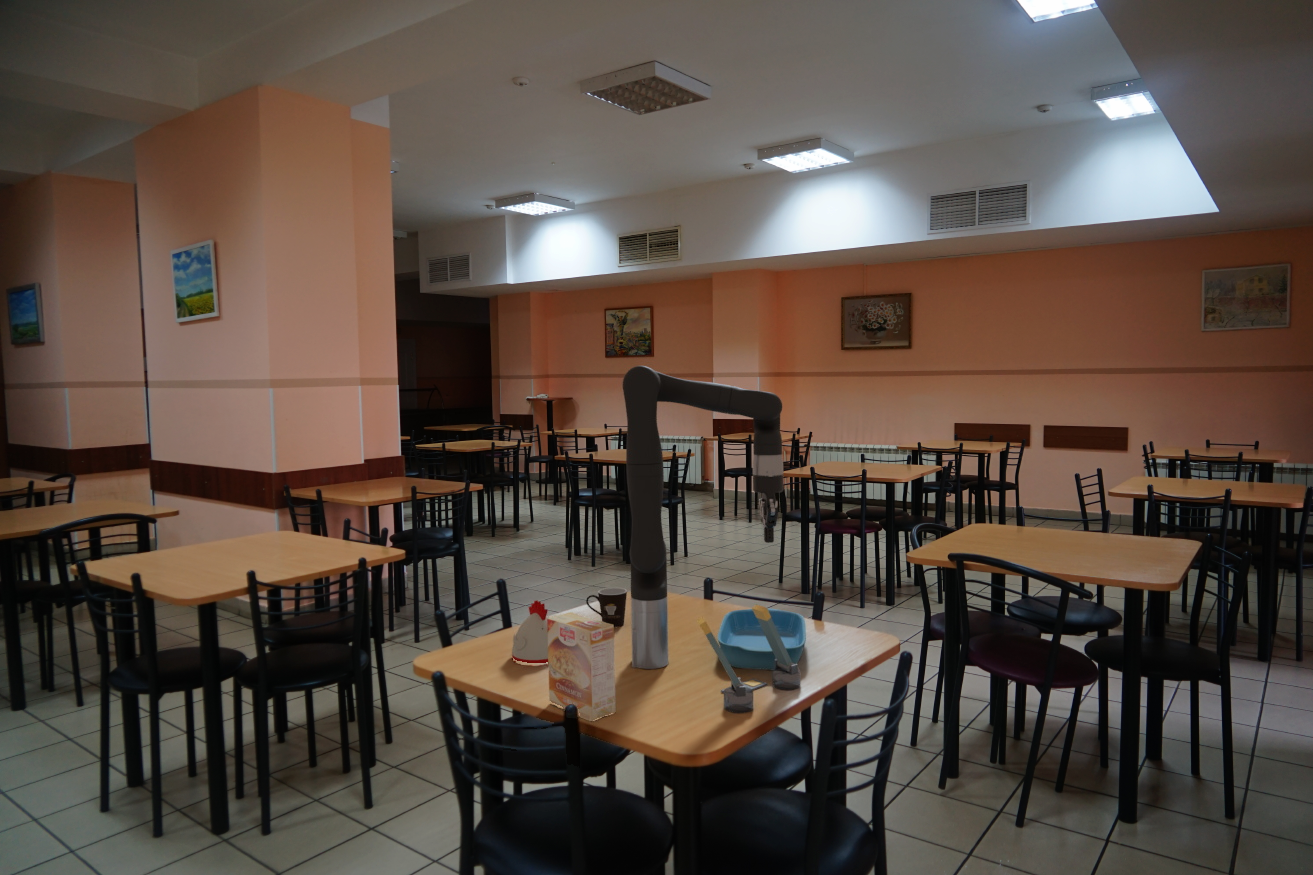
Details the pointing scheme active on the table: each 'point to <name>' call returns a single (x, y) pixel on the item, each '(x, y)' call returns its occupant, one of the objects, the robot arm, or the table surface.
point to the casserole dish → (759, 638)
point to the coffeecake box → (581, 664)
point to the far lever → (772, 636)
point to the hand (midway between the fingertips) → (768, 541)
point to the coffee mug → (611, 605)
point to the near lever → (719, 653)
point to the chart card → (752, 684)
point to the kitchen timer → (532, 636)
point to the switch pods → (743, 695)
